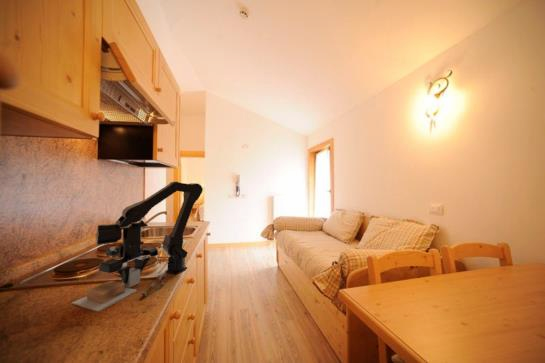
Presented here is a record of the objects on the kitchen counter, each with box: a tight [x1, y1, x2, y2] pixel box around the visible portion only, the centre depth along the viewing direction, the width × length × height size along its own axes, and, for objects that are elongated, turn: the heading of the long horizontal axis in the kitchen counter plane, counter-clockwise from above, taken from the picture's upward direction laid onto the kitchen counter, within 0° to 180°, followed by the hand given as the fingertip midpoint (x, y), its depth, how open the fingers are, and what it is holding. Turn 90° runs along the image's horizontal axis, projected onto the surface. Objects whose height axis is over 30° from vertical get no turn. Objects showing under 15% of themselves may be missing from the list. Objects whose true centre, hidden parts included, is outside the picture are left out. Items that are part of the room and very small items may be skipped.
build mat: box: [71, 287, 138, 313], centre depth 66 cm, size 12×12×1 cm
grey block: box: [121, 267, 141, 288], centre depth 75 cm, size 4×4×5 cm
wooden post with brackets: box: [140, 274, 165, 298], centre depth 71 cm, size 2×8×4 cm, turn 162°
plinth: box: [86, 280, 125, 304], centre depth 66 cm, size 7×7×3 cm
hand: (131, 281), depth 75 cm, fingers closed on grey block, 4 cm apart
